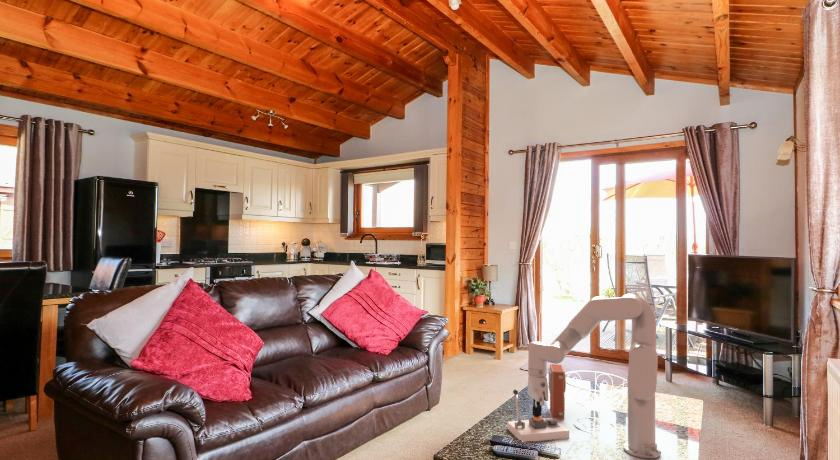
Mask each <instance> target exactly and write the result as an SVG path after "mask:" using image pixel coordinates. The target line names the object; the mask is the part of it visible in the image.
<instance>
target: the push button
mask: <svg viewBox="0 0 840 460" xmlns="http://www.w3.org/2000/svg"><path fill="white" fill-rule="evenodd" d="M542 416H543V415H541V416H538V417H535V416H533V415H532V418H533V421H534V422H542V419H543V417H542Z"/></svg>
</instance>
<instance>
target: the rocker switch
mask: <svg viewBox="0 0 840 460" xmlns="http://www.w3.org/2000/svg"><path fill="white" fill-rule="evenodd" d="M547 420H548V423H550V424H553V423H559V419H558V420H555V419H547Z"/></svg>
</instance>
